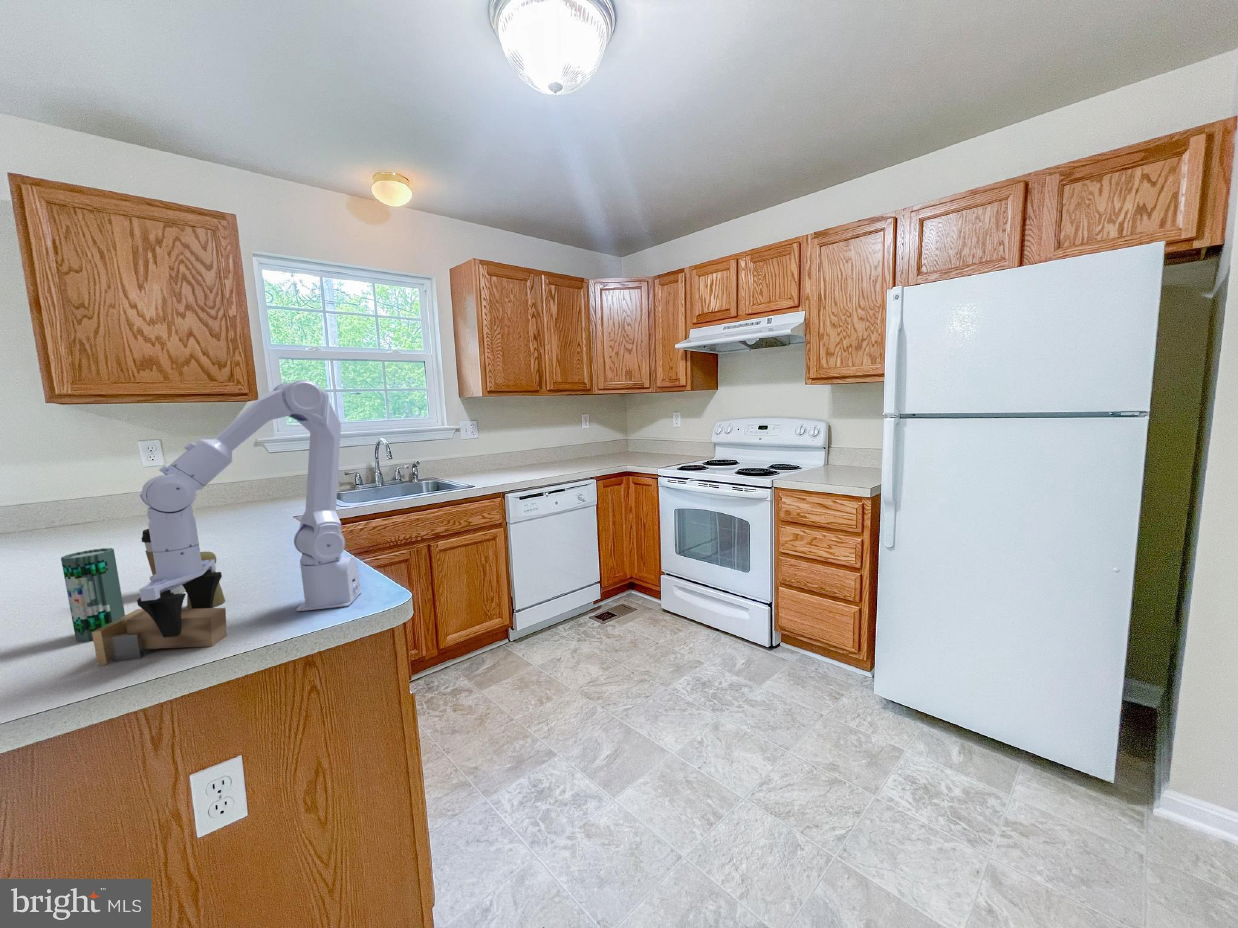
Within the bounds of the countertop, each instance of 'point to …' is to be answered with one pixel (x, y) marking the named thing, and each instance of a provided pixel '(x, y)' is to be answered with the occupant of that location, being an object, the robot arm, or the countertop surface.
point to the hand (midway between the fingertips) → (188, 625)
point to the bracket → (118, 641)
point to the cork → (218, 595)
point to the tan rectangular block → (195, 632)
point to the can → (92, 590)
